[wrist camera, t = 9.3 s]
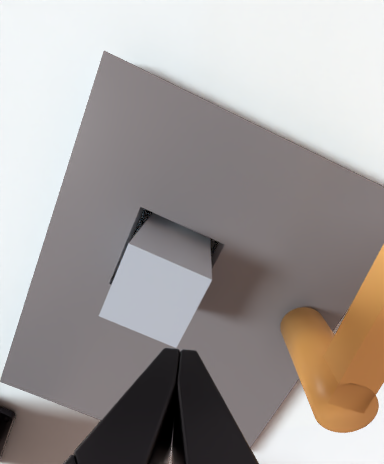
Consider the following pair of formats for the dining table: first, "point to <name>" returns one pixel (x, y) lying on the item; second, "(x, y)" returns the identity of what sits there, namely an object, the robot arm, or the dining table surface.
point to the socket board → (199, 220)
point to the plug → (160, 280)
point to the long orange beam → (341, 356)
